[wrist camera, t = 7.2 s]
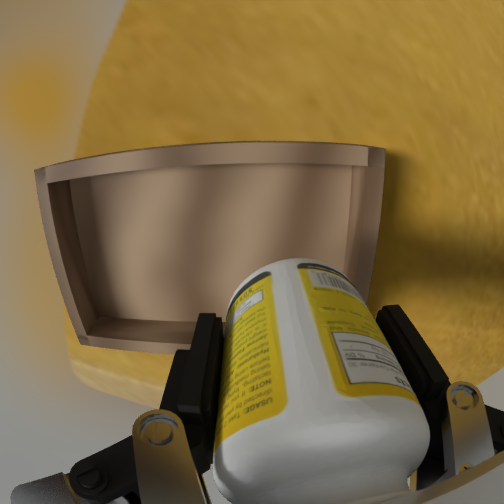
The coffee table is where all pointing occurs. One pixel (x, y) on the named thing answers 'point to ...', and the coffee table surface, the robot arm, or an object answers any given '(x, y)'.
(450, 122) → the coffee table surface
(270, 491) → the supplement bottle
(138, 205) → the tray
